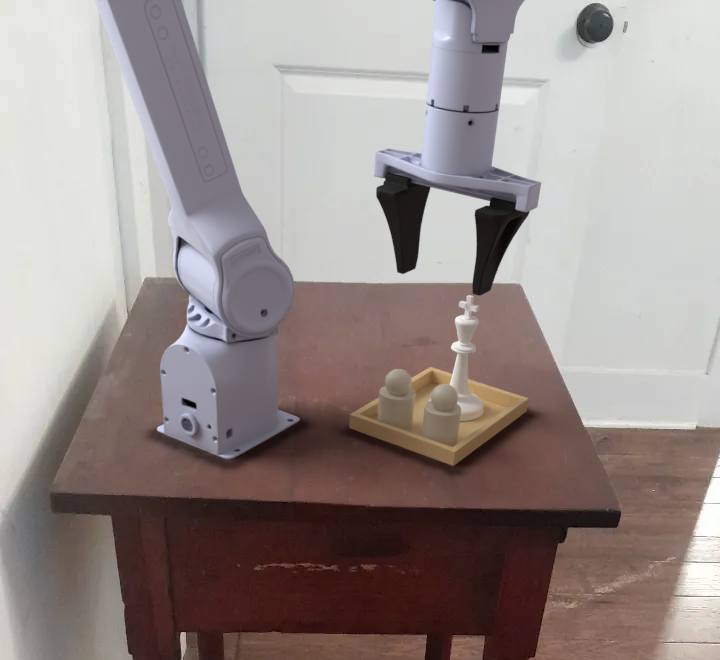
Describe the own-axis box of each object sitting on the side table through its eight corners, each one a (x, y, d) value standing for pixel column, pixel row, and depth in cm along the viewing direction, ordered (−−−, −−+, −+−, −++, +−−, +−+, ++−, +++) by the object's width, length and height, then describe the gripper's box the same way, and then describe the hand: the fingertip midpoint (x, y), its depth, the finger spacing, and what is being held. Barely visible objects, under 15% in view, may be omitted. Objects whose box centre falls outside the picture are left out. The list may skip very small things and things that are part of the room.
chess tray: (452, 470, 79) (455, 451, 78) (348, 432, 83) (349, 414, 82) (525, 415, 88) (529, 398, 87) (428, 383, 92) (430, 366, 91)
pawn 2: (445, 454, 80) (452, 396, 77) (414, 443, 82) (420, 385, 78) (463, 441, 82) (471, 384, 79) (432, 431, 84) (439, 374, 80)
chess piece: (464, 426, 84) (480, 311, 78) (417, 409, 87) (428, 295, 80) (493, 408, 88) (511, 296, 81) (447, 392, 90) (460, 281, 84)
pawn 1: (399, 438, 82) (405, 380, 79) (369, 427, 83) (374, 370, 80) (418, 426, 84) (424, 369, 81) (389, 415, 85) (393, 359, 82)
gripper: (569, 114, 76) (538, 290, 85) (411, 85, 83) (398, 251, 91) (527, 127, 72) (500, 311, 80) (364, 95, 78) (354, 269, 86)
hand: (443, 281), depth 85 cm, fingers open, 7 cm apart
